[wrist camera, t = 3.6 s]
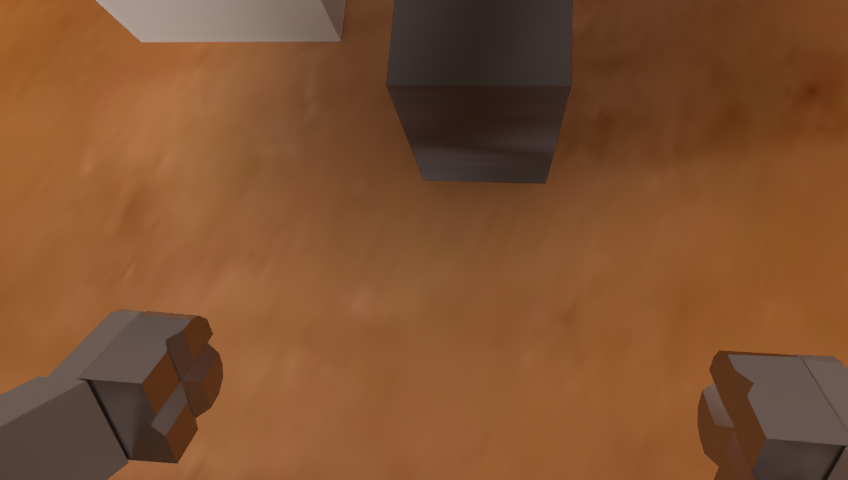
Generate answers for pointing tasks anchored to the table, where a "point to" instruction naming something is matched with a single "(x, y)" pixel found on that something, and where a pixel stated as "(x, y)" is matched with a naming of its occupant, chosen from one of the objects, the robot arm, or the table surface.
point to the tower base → (230, 20)
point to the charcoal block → (481, 85)
